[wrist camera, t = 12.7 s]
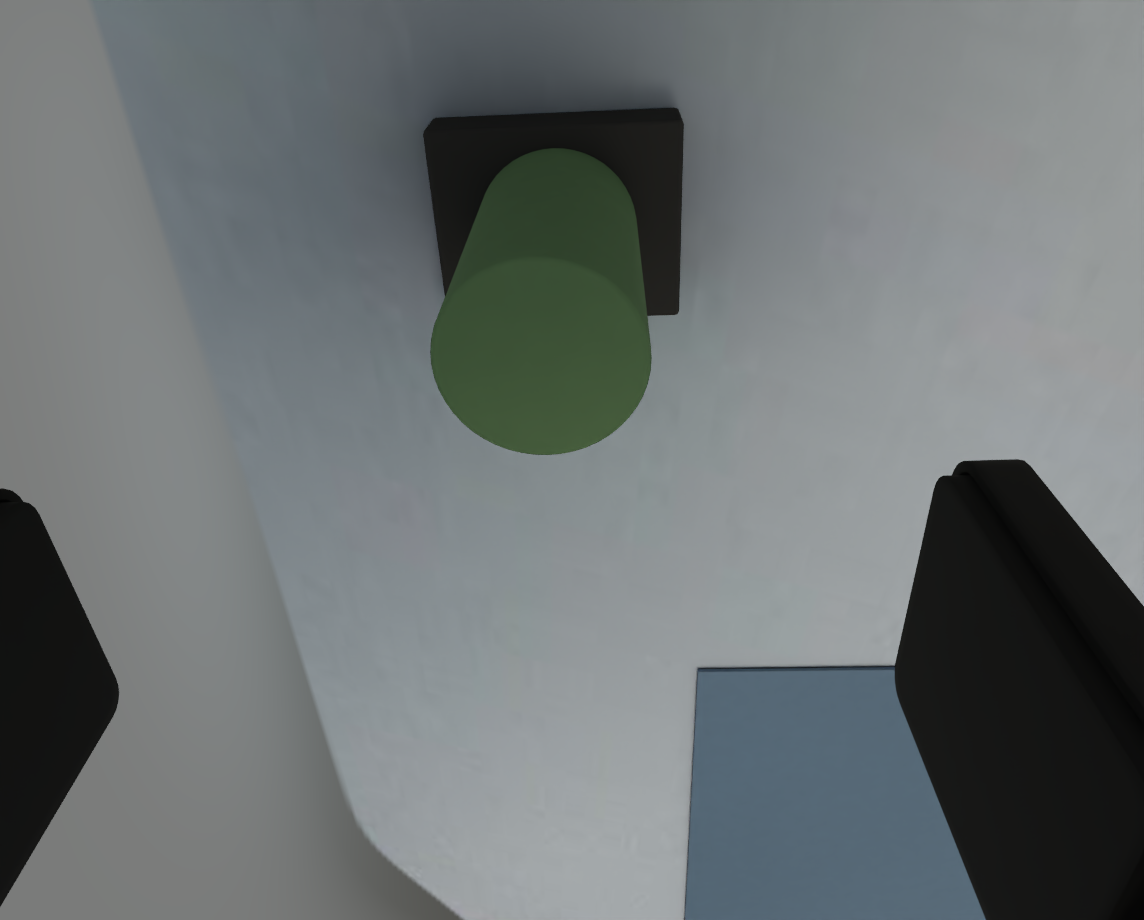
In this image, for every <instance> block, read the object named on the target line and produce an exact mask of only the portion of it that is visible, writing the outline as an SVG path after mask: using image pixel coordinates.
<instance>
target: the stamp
mask: <svg viewBox="0 0 1144 920" xmlns="http://www.w3.org/2000/svg"><path fill="white" fill-rule="evenodd" d="M683 132H684V124H683V121H682V118H681V115H680V113H679V110H678V109H676V108H661V109H637V110H613V111H590V112H566V113H542V114H519V115H495V116H471V117H448V118H435V119H433V120H432V121H431V123H430V124H429V125H428V127H427V128H426V129H425V131H424V133H423V137H424V145H425V152H426V159H427V167H428V174H429V182H430V189H431V196H432V204H433V211H434V219H435V226H436V233H437V241H438V248H439V256H440V263H441V270H442V278H443V285H444V293H445V299H444V301H443V304H442V306H441V309H440V312H439V314H438V317H437V320H436V322H435V325H434V329H433V333H432V338H431V351H430V353H431V365H432V369H433V374H434V378H435V381H436V383H437V386H438V389H439V391H440V393H441V395H442V396H443V398H444V400H445V402H446V403H447V405H448V406H449V408H450V409H451V410H452V412H453V413H454V414H455V415H456V416H457V417H458V418H459V420H460V421H461V422H462V423H463V424H465V425H466V426H467V427H468V428H469V429H470V430H472V431H473V432H474V433H476V434H477V435H479V436H480V437H482V438H483V439H485V440H487V441H489V442H491V443H493V444H495V445H498V446H500V447H503V448H506V449H509V450H513V451H517V452H520V453H527V454H536V455H552V454H562V453H567V452H573V451H576V450H579V449H582V448H586V447H588V446H590V445H592V444H595V443H597V442H599V441H601V440H602V439H604V438H606V437H607V436H609V435H610V434H611V433H613V432H614V431H615V430H617V429H618V428H619V427H620V426H621V425H622V424H623V423H624V422H625V421H626V420H627V419H628V418H629V417H630V415H631V414H632V413H633V411H634V410H635V409H636V407H637V406H638V404H639V402H640V400H641V399H642V397H643V395H644V392H645V389H646V387H647V384H648V380H649V376H650V371H651V344H650V335H649V327H648V318H647V316H653V315H676V314H678V311H679V289H680V250H681V210H682V171H683Z"/></svg>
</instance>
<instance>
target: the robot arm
mask: <svg viewBox="0 0 1144 920" xmlns="http://www.w3.org/2000/svg"><path fill="white" fill-rule="evenodd" d="M895 687H896V692H897V696H898V699H899V703H900V705H901V708H902V710H903V713H904V715H905V718H906V720H907V723H908V725H909V728H910V730H911V733H912V735H913V738H914V740H915V743H916V745H917V748H918V750H919V753H920V755H921V758H922V760H923V763H924V765H925V768H926V771H927V773H928V776H929V778H930V781H931V783H932V786H933V788H934V791H935V793H936V796H937V798H938V801H939V803H940V806H941V808H942V811H943V813H944V816H945V818H946V821H947V823H948V826H949V828H950V831H951V833H952V836H953V838H954V841H955V844H956V846H957V849H958V851H959V854H960V856H961V859H962V861H963V864H964V866H965V869H966V871H967V874H968V876H969V879H970V881H971V884H972V886H973V889H974V891H975V894H976V896H977V899H978V901H979V904H980V906H981V909H982V911H983V914H984V916H985V919H986V920H1144V606H1143V605H1142V604H1141V603H1140V601H1139V600H1138V599H1137V598H1136V596H1135V595H1134V594H1133V593H1132V591H1131V590H1130V589H1129V588H1128V586H1127V585H1126V584H1125V583H1124V581H1123V580H1122V579H1121V578H1120V577H1119V575H1118V574H1117V573H1116V572H1115V570H1114V569H1113V568H1112V567H1111V565H1110V564H1109V563H1108V562H1107V560H1106V559H1105V558H1104V557H1103V555H1102V554H1101V553H1100V552H1099V551H1098V549H1097V548H1096V547H1095V546H1094V544H1093V543H1092V542H1091V541H1090V539H1089V538H1088V537H1087V536H1086V534H1085V533H1084V532H1083V531H1082V529H1081V528H1080V527H1079V526H1078V524H1077V523H1076V522H1075V521H1074V520H1073V518H1072V517H1071V516H1070V515H1069V513H1068V512H1067V511H1066V510H1065V508H1064V507H1063V506H1062V505H1061V503H1060V502H1059V501H1058V500H1057V498H1056V497H1055V496H1054V495H1053V494H1052V492H1051V491H1050V490H1049V489H1048V487H1047V486H1046V485H1045V484H1044V482H1043V481H1042V480H1041V479H1040V477H1039V476H1038V475H1037V474H1036V472H1035V471H1034V470H1033V469H1032V467H1031V466H1030V465H1028V464H1027V463H1026V462H1025V461H1023V460H1018V459H1016V460H981V461H963V462H961V463H959V464H958V465H957V466H956V468H955V469H954V471H953V474H952V476H942V477H940V478H939V479H938V481H937V482H936V485H935V488H934V492H933V496H932V501H931V505H930V510H929V514H928V519H927V523H926V528H925V532H924V537H923V541H922V546H921V550H920V555H919V559H918V564H917V568H916V573H915V577H914V582H913V586H912V591H911V595H910V600H909V604H908V609H907V613H906V618H905V623H904V627H903V632H902V636H901V641H900V645H899V650H898V654H897V659H896V663H895ZM118 698H119V689H118V683H117V680H116V678H115V675H114V673H113V671H112V669H111V667H110V665H109V663H108V660H107V658H106V656H105V654H104V652H103V650H102V648H101V646H100V643H99V641H98V639H97V637H96V635H95V633H94V630H93V628H92V626H91V624H90V622H89V620H88V618H87V616H86V613H85V611H84V609H83V607H82V605H81V603H80V601H79V598H78V596H77V594H76V592H75V590H74V588H73V586H72V583H71V581H70V579H69V577H68V575H67V573H66V571H65V569H64V566H63V564H62V562H61V560H60V558H59V556H58V554H57V551H56V549H55V547H54V545H53V543H52V541H51V539H50V536H49V534H48V532H47V530H46V528H45V526H44V524H43V521H42V519H41V517H40V515H39V514H38V512H37V510H36V509H35V508H34V507H33V506H32V505H31V504H29V503H26V502H23V501H22V499H21V498H20V497H19V496H18V495H17V494H16V493H14V492H13V491H11V490H6V489H0V906H1V905H2V903H3V901H4V899H5V898H6V896H7V894H8V893H9V891H10V889H11V888H12V886H13V884H14V883H15V881H16V879H17V878H18V876H19V874H20V873H21V871H22V869H23V867H24V866H25V864H26V862H27V861H28V859H29V857H30V856H31V854H32V852H33V850H34V849H35V847H36V846H37V844H38V842H39V841H40V839H41V837H42V835H43V834H44V832H45V830H46V829H47V827H48V825H49V824H50V822H51V820H52V819H53V817H54V815H55V814H56V812H57V810H58V809H59V807H60V805H61V803H62V802H63V800H64V798H65V797H66V795H67V793H68V791H69V790H70V788H71V787H72V785H73V783H74V782H75V780H76V778H77V776H78V775H79V773H80V771H81V770H82V768H83V766H84V765H85V763H86V761H87V760H88V758H89V756H90V755H91V753H92V751H93V750H94V748H95V746H96V744H97V743H98V741H99V739H100V738H101V736H102V734H103V733H104V731H105V729H106V728H107V726H108V724H109V723H110V721H111V719H112V717H113V715H114V713H115V711H116V708H117V704H118Z"/></svg>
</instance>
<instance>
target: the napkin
mask: <svg viewBox="0 0 1144 920" xmlns="http://www.w3.org/2000/svg"><path fill="white" fill-rule="evenodd" d="M685 920H986V919H985V916H984V914H983V911H982V909H981V906H980V904H979V901H978V899H977V896H976V894H975V891H974V889H973V886H972V884H971V881H970V879H969V876H968V874H967V871H966V869H965V866H964V864H963V861H962V859H961V856H960V854H959V851H958V849H957V846H956V844H955V841H954V838H953V836H952V833H951V831H950V828H949V826H948V823H947V821H946V818H945V816H944V813H943V811H942V808H941V806H940V803H939V801H938V798H937V796H936V793H935V791H934V788H933V786H932V783H931V781H930V778H929V776H928V773H927V771H926V768H925V765H924V763H923V760H922V758H921V755H920V753H919V750H918V748H917V745H916V743H915V740H914V738H913V735H912V733H911V730H910V728H909V725H908V723H907V720H906V718H905V715H904V713H903V710H902V708H901V705H900V703H899V699H898V696H897V692H896V687H895V667H866V668H772V669H698V674H697V694H696V713H695V732H694V751H693V771H692V790H691V809H690V828H689V847H688V867H687V886H686V905H685Z"/></svg>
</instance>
